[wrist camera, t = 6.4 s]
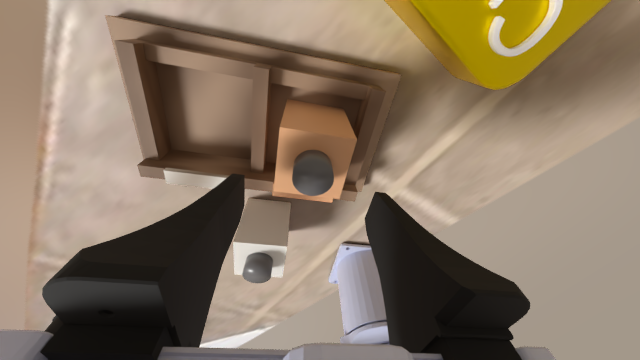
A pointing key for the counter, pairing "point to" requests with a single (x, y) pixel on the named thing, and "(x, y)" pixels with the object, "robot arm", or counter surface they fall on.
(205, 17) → the counter surface
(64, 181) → the counter surface
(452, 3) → the element tile
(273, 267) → the grey plug
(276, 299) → the counter surface
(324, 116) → the orange plug
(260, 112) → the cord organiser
